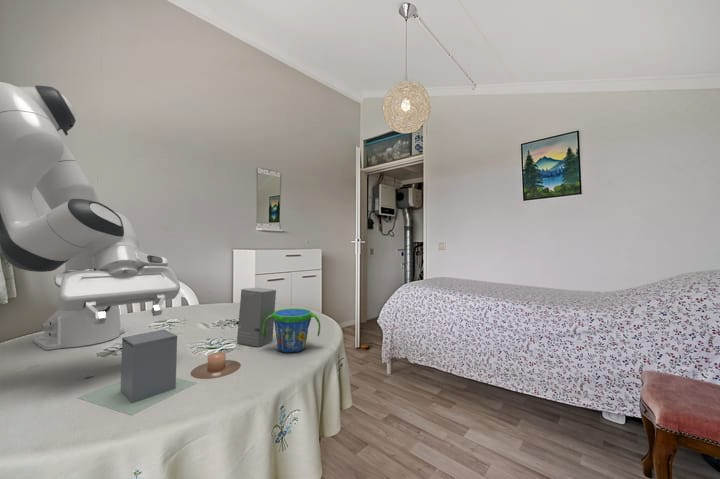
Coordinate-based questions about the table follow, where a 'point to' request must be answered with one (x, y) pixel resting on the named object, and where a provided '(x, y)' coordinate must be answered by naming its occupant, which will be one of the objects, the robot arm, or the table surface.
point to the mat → (119, 402)
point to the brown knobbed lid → (215, 367)
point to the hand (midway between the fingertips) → (130, 317)
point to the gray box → (148, 364)
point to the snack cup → (291, 328)
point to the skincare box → (256, 316)
